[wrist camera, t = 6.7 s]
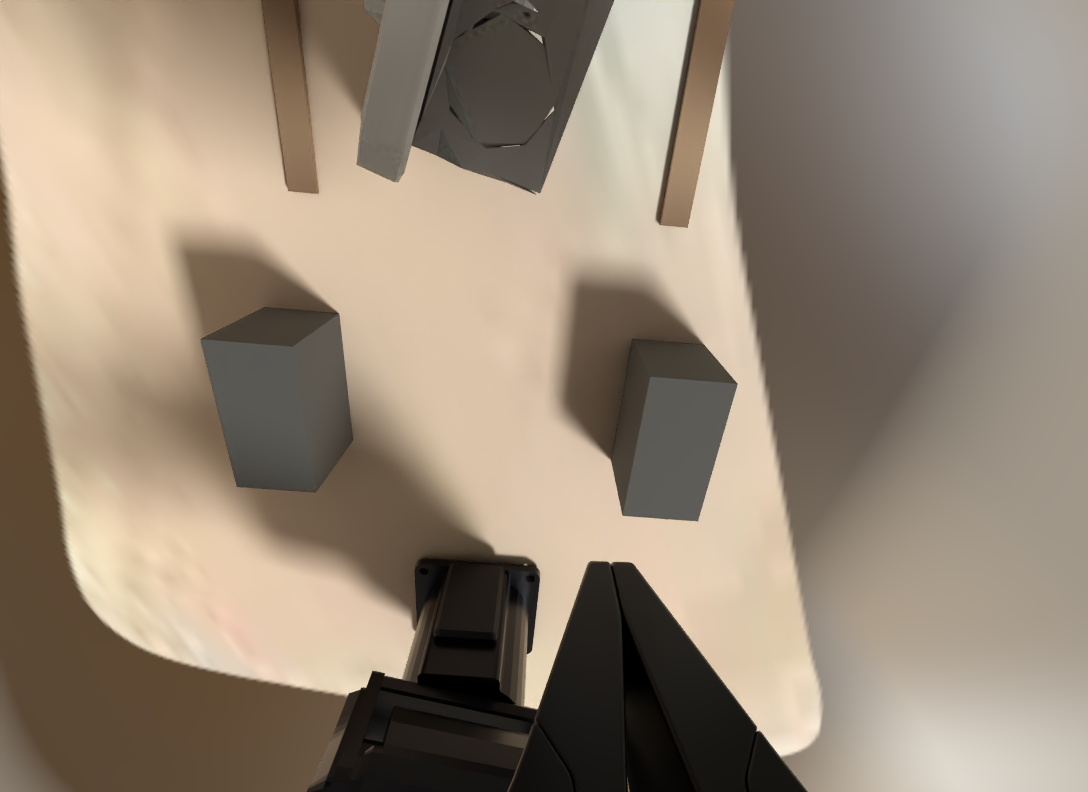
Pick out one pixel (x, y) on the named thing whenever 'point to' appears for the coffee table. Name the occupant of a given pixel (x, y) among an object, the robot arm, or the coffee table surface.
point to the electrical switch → (476, 83)
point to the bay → (689, 134)
